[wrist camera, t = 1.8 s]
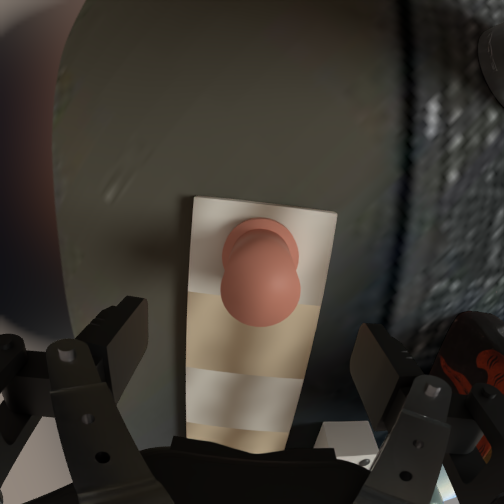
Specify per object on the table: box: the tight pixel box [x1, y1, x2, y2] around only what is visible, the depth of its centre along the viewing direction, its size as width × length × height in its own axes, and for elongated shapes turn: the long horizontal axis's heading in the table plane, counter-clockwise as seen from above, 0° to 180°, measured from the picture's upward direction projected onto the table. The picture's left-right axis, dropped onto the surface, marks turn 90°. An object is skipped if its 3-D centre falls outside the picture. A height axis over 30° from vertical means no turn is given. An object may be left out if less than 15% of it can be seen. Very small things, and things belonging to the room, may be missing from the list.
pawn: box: [220, 217, 301, 327], centre depth 19 cm, size 5×5×7 cm
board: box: [186, 195, 337, 454], centre depth 26 cm, size 10×28×1 cm, turn 174°
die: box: [314, 421, 379, 469], centre depth 27 cm, size 5×5×5 cm
